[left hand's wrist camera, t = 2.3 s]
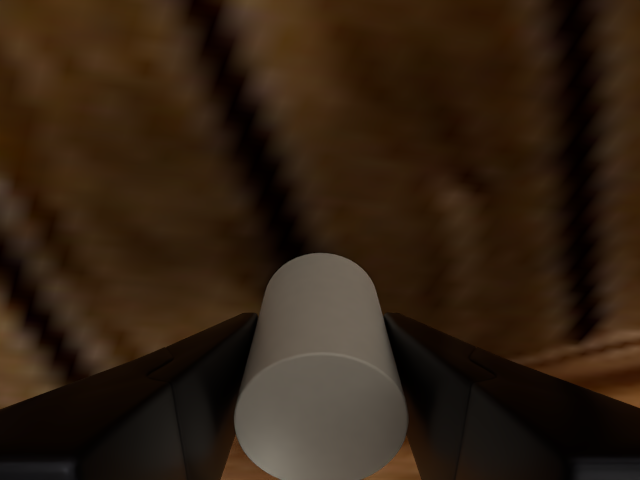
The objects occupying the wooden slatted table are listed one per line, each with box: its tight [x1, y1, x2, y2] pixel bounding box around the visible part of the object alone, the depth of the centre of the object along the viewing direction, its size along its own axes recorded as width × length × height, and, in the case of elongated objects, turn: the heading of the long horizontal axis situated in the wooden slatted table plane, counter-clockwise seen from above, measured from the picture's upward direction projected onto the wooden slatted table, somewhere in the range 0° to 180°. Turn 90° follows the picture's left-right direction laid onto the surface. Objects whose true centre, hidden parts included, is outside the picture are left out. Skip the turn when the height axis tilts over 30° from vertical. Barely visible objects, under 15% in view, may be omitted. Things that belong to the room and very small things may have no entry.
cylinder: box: [234, 253, 409, 480], centre depth 11 cm, size 4×4×5 cm
